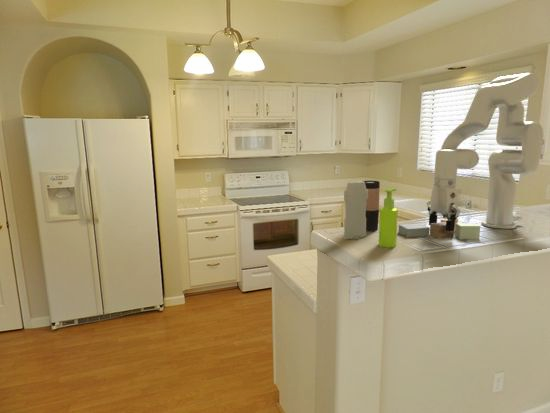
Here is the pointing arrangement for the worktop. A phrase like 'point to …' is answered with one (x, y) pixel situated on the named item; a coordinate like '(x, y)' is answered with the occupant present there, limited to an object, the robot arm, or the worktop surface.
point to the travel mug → (372, 205)
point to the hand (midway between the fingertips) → (440, 227)
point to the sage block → (467, 231)
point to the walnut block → (440, 230)
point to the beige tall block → (355, 210)
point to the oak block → (447, 219)
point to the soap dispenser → (388, 222)
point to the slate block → (414, 230)
